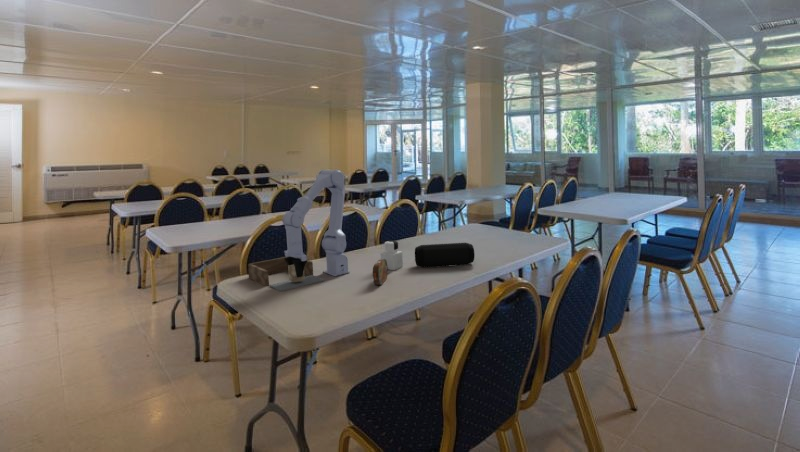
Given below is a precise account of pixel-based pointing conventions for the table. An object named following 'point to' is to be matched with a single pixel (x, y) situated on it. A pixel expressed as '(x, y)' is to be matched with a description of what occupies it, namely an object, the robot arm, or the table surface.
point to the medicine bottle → (392, 255)
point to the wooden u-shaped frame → (272, 269)
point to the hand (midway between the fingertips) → (296, 275)
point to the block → (294, 274)
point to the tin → (380, 272)
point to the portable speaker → (444, 254)
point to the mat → (296, 283)
